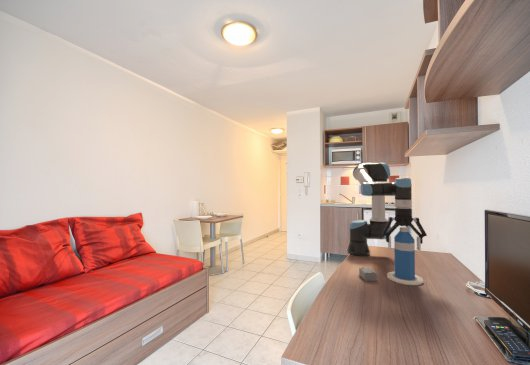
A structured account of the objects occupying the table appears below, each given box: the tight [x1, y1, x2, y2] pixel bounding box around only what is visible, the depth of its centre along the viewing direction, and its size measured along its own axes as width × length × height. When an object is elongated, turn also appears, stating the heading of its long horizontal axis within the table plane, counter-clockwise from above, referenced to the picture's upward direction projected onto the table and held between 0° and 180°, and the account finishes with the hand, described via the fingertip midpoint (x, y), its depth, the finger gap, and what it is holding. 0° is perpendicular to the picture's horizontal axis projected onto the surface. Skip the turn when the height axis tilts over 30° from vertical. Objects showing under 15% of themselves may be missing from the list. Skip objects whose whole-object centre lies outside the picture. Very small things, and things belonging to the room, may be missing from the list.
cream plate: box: [386, 270, 424, 286], centre depth 123 cm, size 16×16×1 cm
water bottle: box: [393, 226, 416, 280], centre depth 123 cm, size 9×9×25 cm
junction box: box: [358, 266, 378, 282], centre depth 125 cm, size 8×6×4 cm
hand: (404, 249), depth 123 cm, fingers open, 13 cm apart
